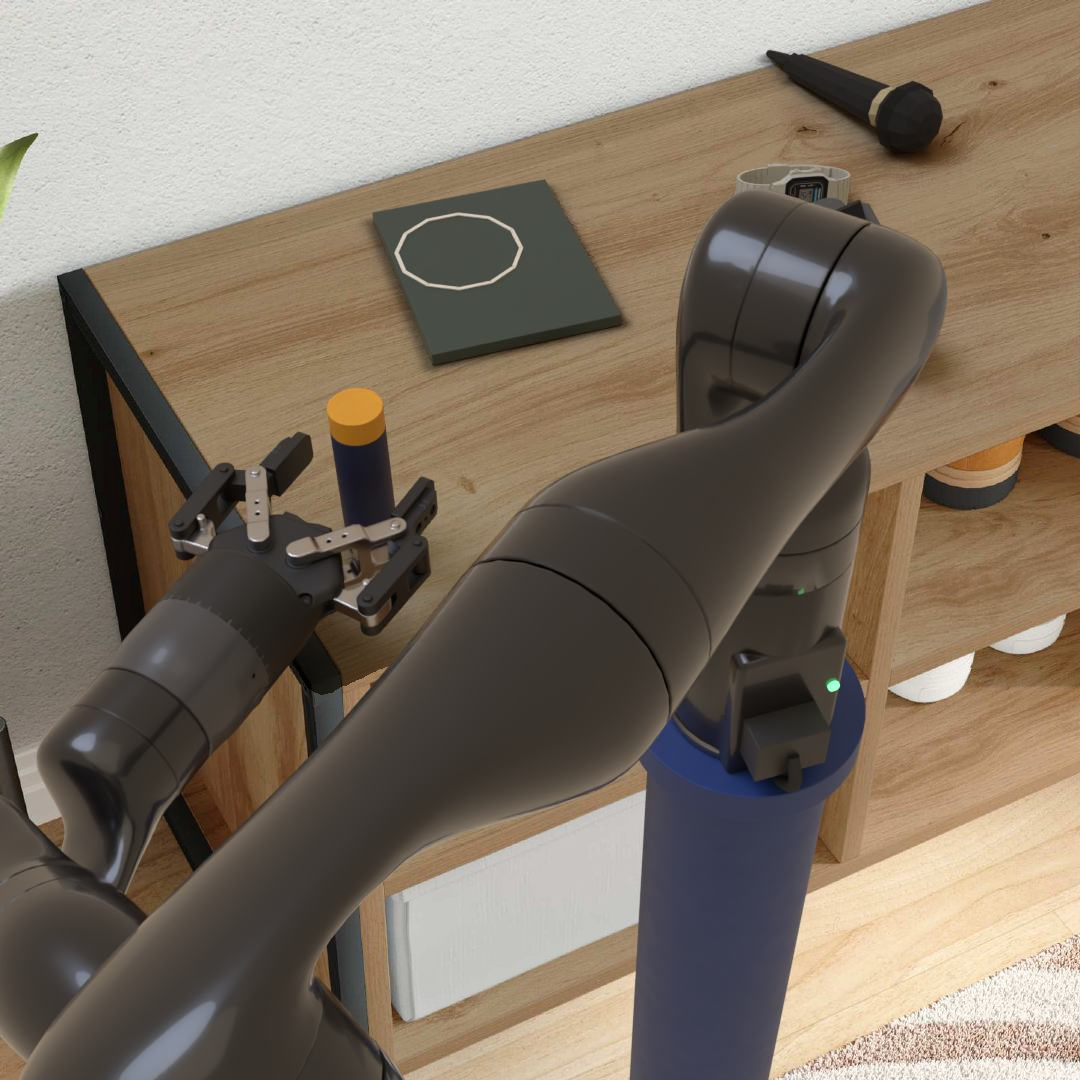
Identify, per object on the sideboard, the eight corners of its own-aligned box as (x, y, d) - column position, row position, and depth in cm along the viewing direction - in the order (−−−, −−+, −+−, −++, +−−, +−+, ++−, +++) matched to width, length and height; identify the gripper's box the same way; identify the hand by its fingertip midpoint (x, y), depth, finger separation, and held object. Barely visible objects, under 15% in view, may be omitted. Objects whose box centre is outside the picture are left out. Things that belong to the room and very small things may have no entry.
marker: (405, 562, 97) (389, 418, 89) (355, 574, 97) (333, 430, 88) (393, 527, 99) (375, 382, 91) (343, 539, 99) (321, 394, 90)
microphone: (753, 97, 139) (912, 177, 126) (737, 44, 135) (900, 121, 122) (798, 61, 140) (962, 137, 127) (784, 7, 136) (951, 79, 122)
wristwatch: (746, 244, 119) (751, 188, 116) (720, 197, 124) (724, 142, 120) (860, 225, 121) (868, 169, 117) (830, 180, 125) (838, 125, 121)
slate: (621, 325, 113) (621, 313, 112) (432, 365, 110) (431, 353, 109) (545, 189, 125) (545, 177, 124) (373, 222, 122) (371, 211, 121)
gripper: (310, 657, 78) (469, 456, 88) (83, 562, 83) (258, 381, 93) (327, 746, 84) (475, 547, 94) (113, 653, 88) (276, 473, 98)
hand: (367, 465), depth 93 cm, fingers open, 8 cm apart
